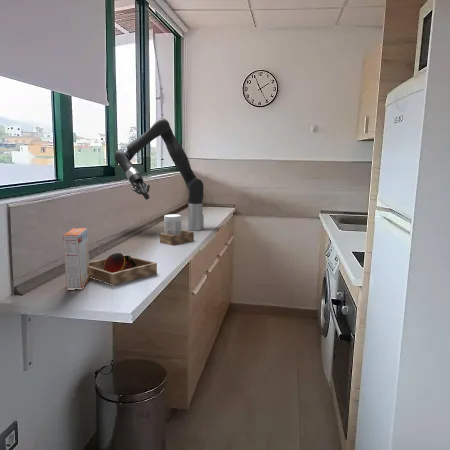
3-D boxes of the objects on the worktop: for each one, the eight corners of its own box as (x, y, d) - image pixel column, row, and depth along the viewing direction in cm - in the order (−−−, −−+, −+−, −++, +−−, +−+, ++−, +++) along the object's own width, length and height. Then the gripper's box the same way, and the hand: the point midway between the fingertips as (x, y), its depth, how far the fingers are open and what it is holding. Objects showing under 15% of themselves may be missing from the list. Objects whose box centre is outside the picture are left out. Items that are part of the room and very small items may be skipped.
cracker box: (75, 279, 172) (72, 227, 169) (90, 279, 173) (88, 227, 169) (65, 291, 158) (61, 234, 155) (82, 290, 159) (79, 234, 155)
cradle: (180, 238, 255) (180, 229, 254) (193, 240, 248) (193, 232, 247) (159, 242, 243) (159, 233, 242) (172, 245, 236) (172, 236, 235)
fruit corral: (124, 264, 195) (124, 254, 195) (156, 273, 181) (156, 263, 181) (80, 274, 179) (80, 264, 178) (112, 285, 165) (111, 274, 164)
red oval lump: (120, 288, 187) (94, 276, 177) (126, 261, 193) (101, 248, 182) (141, 285, 181) (115, 273, 170) (147, 258, 187) (122, 244, 176)
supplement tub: (179, 238, 253) (179, 213, 250) (183, 242, 244) (183, 216, 242) (163, 239, 250) (162, 214, 247) (166, 243, 241) (166, 217, 238)
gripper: (127, 173, 256) (141, 195, 250) (145, 172, 266) (159, 193, 260) (122, 181, 260) (136, 203, 254) (140, 180, 270) (153, 201, 264)
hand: (147, 198), depth 257 cm, fingers closed
